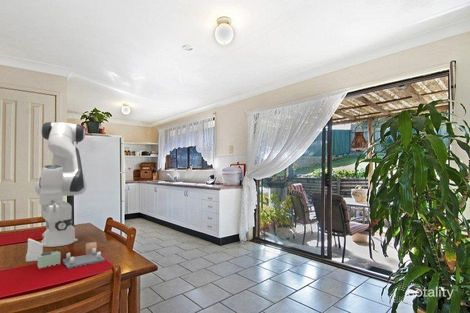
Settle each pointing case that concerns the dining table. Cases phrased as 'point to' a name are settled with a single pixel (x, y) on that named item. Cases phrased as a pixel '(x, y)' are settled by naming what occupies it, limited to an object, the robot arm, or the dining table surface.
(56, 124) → the robot arm
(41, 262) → the pale green notched block
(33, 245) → the white wedge bracket
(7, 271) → the dining table surface
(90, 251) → the tan orange cube
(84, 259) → the mounting plate
